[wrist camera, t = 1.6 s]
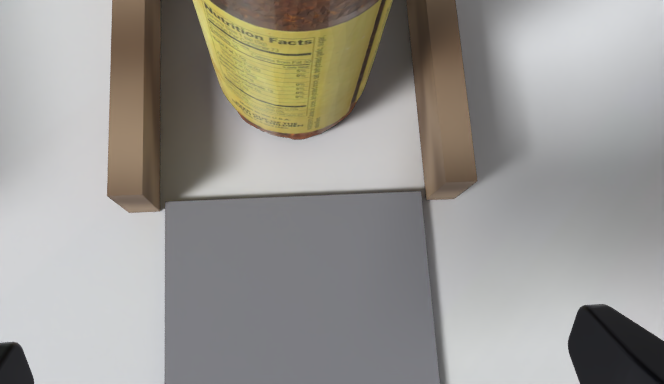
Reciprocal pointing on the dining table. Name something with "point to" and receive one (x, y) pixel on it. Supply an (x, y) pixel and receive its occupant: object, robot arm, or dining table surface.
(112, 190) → the bottle holder
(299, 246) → the rubber mat
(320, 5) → the sauce bottle
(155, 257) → the dining table surface
